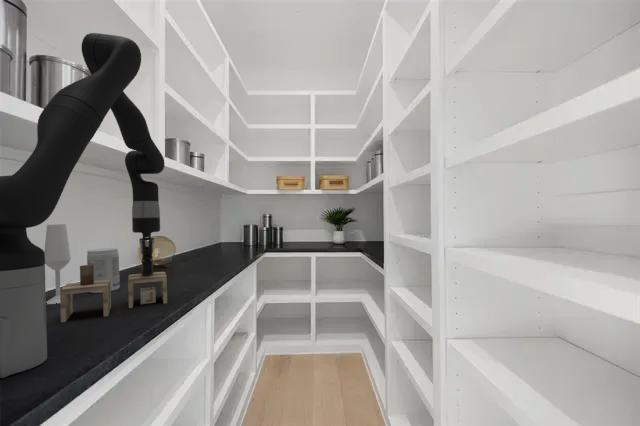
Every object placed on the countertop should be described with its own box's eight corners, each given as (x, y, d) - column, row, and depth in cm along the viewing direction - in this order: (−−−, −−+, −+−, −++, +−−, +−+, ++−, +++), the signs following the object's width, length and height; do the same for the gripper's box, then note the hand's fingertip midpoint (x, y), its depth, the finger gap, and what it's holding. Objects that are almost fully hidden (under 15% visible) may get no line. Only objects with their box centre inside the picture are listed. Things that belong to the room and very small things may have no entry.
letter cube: (155, 302, 103) (155, 289, 103) (140, 304, 101) (140, 290, 101) (155, 299, 107) (154, 286, 107) (140, 301, 105) (140, 288, 105)
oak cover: (167, 303, 102) (166, 259, 102) (128, 308, 97) (127, 262, 97) (165, 296, 111) (164, 256, 111) (129, 300, 106) (128, 258, 106)
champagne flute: (51, 299, 110) (49, 224, 110) (75, 297, 111) (73, 224, 112) (39, 304, 103) (38, 225, 103) (65, 302, 105) (63, 224, 105)
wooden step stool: (108, 316, 90) (107, 266, 90) (60, 322, 85) (59, 269, 85) (111, 307, 98) (110, 261, 98) (68, 312, 94) (67, 265, 94)
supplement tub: (111, 286, 129) (110, 247, 129) (125, 289, 124) (124, 248, 124) (82, 292, 120) (81, 250, 120) (96, 294, 115) (95, 251, 115)
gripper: (161, 216, 99) (162, 274, 99) (158, 216, 112) (160, 268, 112) (131, 216, 96) (132, 277, 96) (132, 216, 109) (133, 270, 109)
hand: (147, 272), depth 104 cm, fingers open, 5 cm apart
